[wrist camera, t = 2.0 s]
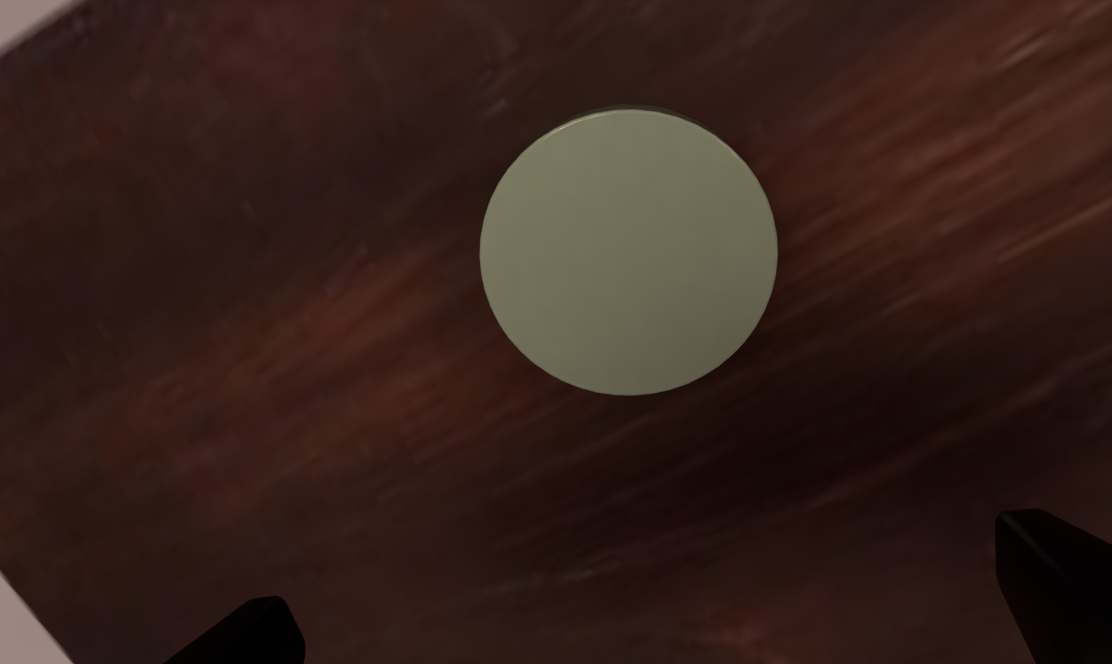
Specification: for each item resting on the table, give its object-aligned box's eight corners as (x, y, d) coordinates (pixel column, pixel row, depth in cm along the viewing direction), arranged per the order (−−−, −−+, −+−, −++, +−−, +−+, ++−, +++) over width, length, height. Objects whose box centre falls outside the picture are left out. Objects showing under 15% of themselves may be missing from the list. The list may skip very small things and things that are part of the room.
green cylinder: (744, 70, 16) (758, 74, 14) (778, 336, 18) (793, 373, 16) (466, 136, 17) (442, 148, 15) (532, 376, 20) (519, 415, 18)
